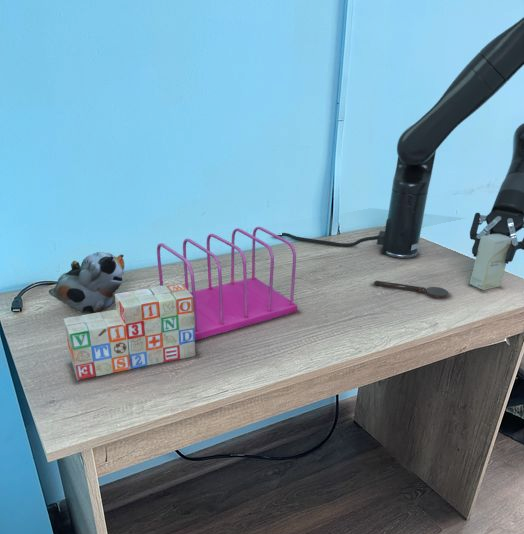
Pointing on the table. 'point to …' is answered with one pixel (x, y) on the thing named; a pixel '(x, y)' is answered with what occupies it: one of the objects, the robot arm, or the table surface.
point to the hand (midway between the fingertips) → (490, 258)
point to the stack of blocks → (133, 332)
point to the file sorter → (234, 291)
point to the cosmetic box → (490, 261)
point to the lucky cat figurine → (90, 282)
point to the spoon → (416, 289)
